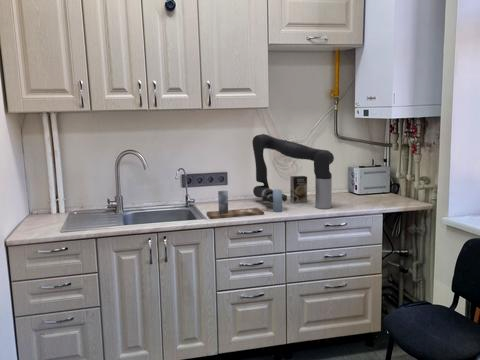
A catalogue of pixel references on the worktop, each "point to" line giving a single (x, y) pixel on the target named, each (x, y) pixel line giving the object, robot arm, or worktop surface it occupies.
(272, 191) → the robot arm
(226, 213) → the board
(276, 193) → the column
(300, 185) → the coffee box
